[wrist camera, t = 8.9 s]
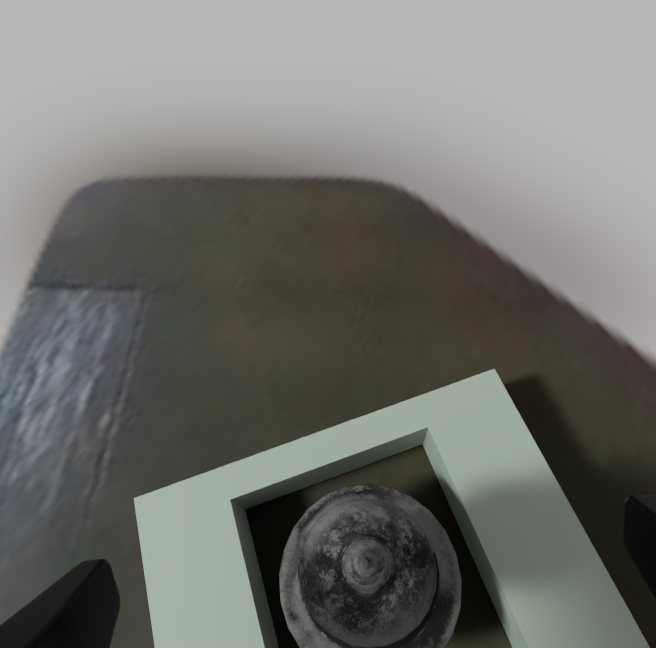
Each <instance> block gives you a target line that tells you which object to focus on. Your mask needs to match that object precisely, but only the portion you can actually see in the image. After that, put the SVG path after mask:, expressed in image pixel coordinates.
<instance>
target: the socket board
mask: <svg viewBox="0 0 656 648" xmlns="http://www.w3.org/2000/svg"><path fill="white" fill-rule="evenodd" d="M422 444H423V446H424V449H425V451H426V453H427V455H428V458H429V460H430V462H431V465H432V467H433V469H434V471H435V474H436V476H437V478H438V480H439V483H440V485H441V487H442V489H443V492H444V494H445V496H446V498H447V501H448V503H449V505H450V507H451V510H452V512H453V514H454V517H455V519H456V521H457V523H458V526H459V528H460V530H461V532H462V535H463V537H464V539H465V541H466V544H467V546H468V548H469V550H470V553H471V555H472V557H473V560H474V562H475V564H476V566H477V569H478V571H479V573H480V575H481V578H482V580H483V582H484V584H485V587H486V589H487V591H488V593H489V596H490V598H491V600H492V603H493V605H494V607H495V609H496V612H497V614H498V616H499V618H500V621H501V623H502V625H503V627H504V630H505V632H506V634H507V636H508V639H509V641H510V643H511V645H512V648H650V647H649V645H648V643H647V641H646V640H645V638H644V636H643V634H642V632H641V631H640V629H639V627H638V625H637V623H636V622H635V620H634V618H633V616H632V614H631V613H630V611H629V609H628V607H627V605H626V604H625V602H624V600H623V598H622V597H621V595H620V593H619V591H618V589H617V588H616V586H615V584H614V582H613V580H612V579H611V577H610V575H609V573H608V571H607V570H606V568H605V566H604V564H603V562H602V561H601V559H600V557H599V555H598V554H597V552H596V550H595V548H594V546H593V545H592V543H591V541H590V539H589V537H588V536H587V534H586V532H585V530H584V528H583V527H582V525H581V523H580V521H579V519H578V518H577V516H576V514H575V512H574V510H573V509H572V507H571V505H570V503H569V502H568V500H567V498H566V496H565V494H564V493H563V491H562V489H561V487H560V485H559V484H558V482H557V480H556V478H555V476H554V475H553V473H552V471H551V469H550V467H549V466H548V464H547V462H546V460H545V459H544V457H543V455H542V453H541V451H540V450H539V448H538V446H537V444H536V442H535V441H534V439H533V437H532V435H531V433H530V432H529V430H528V428H527V426H526V424H525V423H524V421H523V419H522V417H521V416H520V414H519V412H518V410H517V408H516V407H515V405H514V403H513V401H512V399H511V398H510V396H509V394H508V392H507V390H506V389H505V387H504V385H503V383H502V381H501V380H500V378H499V376H498V374H497V372H496V371H495V369H492V370H489V371H487V372H484V373H481V374H478V375H476V376H473V377H470V378H467V379H464V380H462V381H459V382H456V383H453V384H451V385H448V386H445V387H442V388H439V389H437V390H434V391H431V392H428V393H425V394H423V395H420V396H417V397H414V398H412V399H409V400H406V401H403V402H400V403H398V404H395V405H392V406H389V407H387V408H384V409H381V410H378V411H375V412H373V413H370V414H367V415H364V416H361V417H359V418H356V419H353V420H350V421H348V422H345V423H342V424H339V425H336V426H334V427H331V428H328V429H325V430H323V431H320V432H317V433H314V434H311V435H309V436H306V437H303V438H300V439H298V440H295V441H292V442H289V443H286V444H284V445H281V446H278V447H275V448H272V449H270V450H267V451H264V452H261V453H259V454H256V455H253V456H250V457H247V458H245V459H242V460H239V461H236V462H234V463H231V464H228V465H225V466H222V467H220V468H217V469H214V470H211V471H208V472H206V473H203V474H200V475H197V476H195V477H192V478H189V479H186V480H183V481H181V482H178V483H175V484H172V485H170V486H167V487H164V488H161V489H158V490H156V491H153V492H150V493H147V494H144V495H142V496H139V497H136V498H134V503H135V510H136V517H137V524H138V531H139V538H140V546H141V553H142V560H143V567H144V574H145V581H146V588H147V595H148V602H149V610H150V617H151V624H152V631H153V638H154V645H155V648H279V645H278V641H277V637H276V633H275V629H274V625H273V621H272V617H271V613H270V609H269V605H268V601H267V596H266V592H265V588H264V584H263V580H262V576H261V572H260V568H259V564H258V560H257V556H256V552H255V548H254V544H253V539H252V535H251V531H250V527H249V523H248V519H247V515H246V511H245V510H246V509H248V508H251V507H254V506H256V505H259V504H262V503H265V502H267V501H270V500H273V499H275V498H278V497H281V496H283V495H286V494H289V493H292V492H294V491H297V490H300V489H302V488H305V487H308V486H311V485H313V484H316V483H319V482H321V481H324V480H327V479H330V478H332V477H335V476H338V475H340V474H343V473H346V472H349V471H351V470H354V469H357V468H359V467H362V466H365V465H368V464H370V463H373V462H376V461H378V460H381V459H384V458H386V457H389V456H392V455H395V454H397V453H400V452H403V451H405V450H408V449H411V448H414V447H416V446H419V445H422Z"/></svg>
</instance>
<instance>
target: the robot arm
mask: <svg viewBox="0 0 656 648" xmlns="http://www.w3.org/2000/svg"><path fill="white" fill-rule="evenodd" d="M623 540H624V544H625V547H626V550H627V552H628V554H629V555H630V557H631V559H632V561H633V562H634V564H635V566H636V568H637V569H638V571H639V573H640V575H641V576H642V578H643V580H644V582H645V584H646V585H647V587H648V589H649V591H650V592H651V594H652V596H653V598H654V599H655V601H656V495H655V494H650V493H648V494H639V495H631V496H629V497H627V498H626V500H625V503H624V521H623ZM119 610H120V594H119V591H118V588H117V584H116V581H115V578H114V575H113V571H112V568H111V565H110V563H109V562H108V561H107V560H106V559H96V560H88V561H83V562H81V563H80V564H78V565H77V566H76V567H74V568H73V569H72V570H70V571H69V572H68V573H67V574H65V575H64V576H63V577H62V578H60V579H59V580H58V581H56V582H55V583H54V584H53V585H51V586H50V587H49V588H47V589H46V590H45V591H44V592H42V593H41V594H40V595H38V596H37V597H36V598H35V599H33V600H32V601H31V602H29V603H28V604H27V605H26V606H24V607H23V608H22V609H20V610H19V611H18V612H17V613H15V614H14V615H13V616H12V617H10V618H9V619H8V620H6V621H5V622H4V623H3V624H1V625H0V648H110V645H111V641H112V637H113V634H114V630H115V626H116V622H117V618H118V615H119Z"/></svg>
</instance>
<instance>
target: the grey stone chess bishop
mask: <svg viewBox="0 0 656 648" xmlns="http://www.w3.org/2000/svg"><path fill="white" fill-rule="evenodd" d="M279 579H280V601H281V605H282V608H283V612H284V615H285V619H286V622H287V626H288V628H289V630H290V632H291V633H292V635H293V637H294V639H295V640H296V642H297V644H298V646H299V647H300V648H445V647H446V645H447V643H448V642H449V640H450V638H451V637H452V635H453V633H454V629H455V626H456V622H457V619H458V615H459V612H460V608H461V583H462V580H461V575H460V570H459V565H458V561H457V556H456V553H455V551H454V548H453V546H452V544H451V542H450V540H449V538H448V535H447V533H446V531H445V530H444V528H443V527H442V526H441V525H440V523H439V522H438V521H437V519H436V518H435V517H434V516H433V514H432V513H431V512H430V511H429V510H428V509H427V508H425V507H424V506H423V505H422V504H420V503H419V502H418V501H417V500H415V499H414V498H413V497H411V496H409V495H407V494H405V493H402V492H400V491H398V490H396V489H393V488H391V487H386V486H379V485H373V484H363V485H354V486H347V487H344V488H342V489H339V490H337V491H334V492H332V493H329V494H327V495H325V496H324V497H323V498H321V499H320V500H319V501H317V502H316V503H315V504H314V505H312V506H311V507H310V508H308V510H307V511H306V512H305V513H304V515H303V516H302V517H301V519H300V520H299V521H298V522H297V524H296V525H295V526H294V528H293V530H292V533H291V535H290V537H289V539H288V541H287V544H286V546H285V548H284V552H283V557H282V563H281V568H280V573H279Z"/></svg>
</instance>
